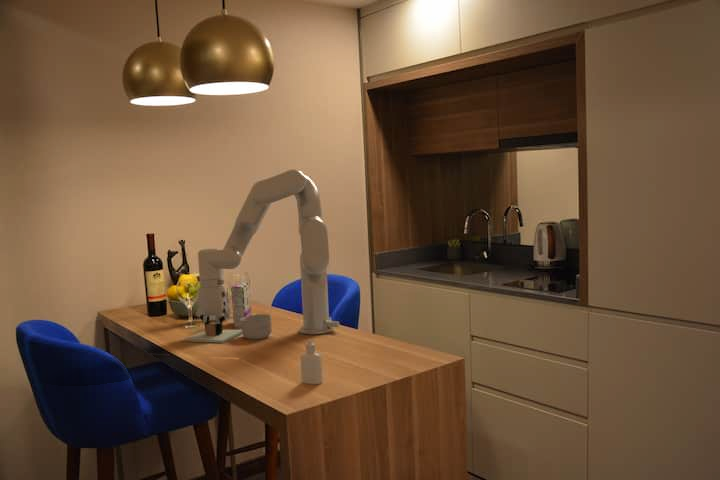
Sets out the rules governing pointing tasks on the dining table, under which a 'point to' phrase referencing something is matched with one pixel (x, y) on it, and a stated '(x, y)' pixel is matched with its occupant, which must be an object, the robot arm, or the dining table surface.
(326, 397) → the dining table surface
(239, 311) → the candy bar box
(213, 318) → the skyscraper
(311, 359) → the eye dropper bottle
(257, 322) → the teacup
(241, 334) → the mat
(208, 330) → the lid
